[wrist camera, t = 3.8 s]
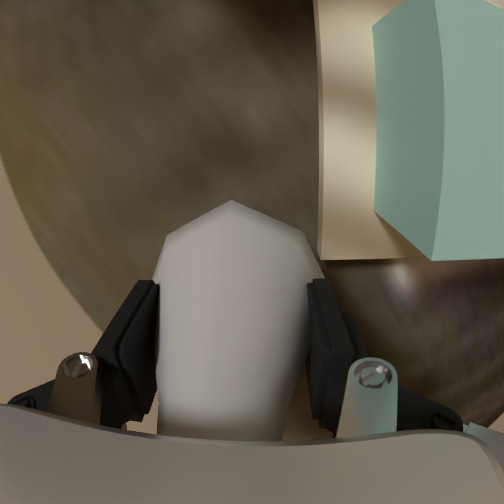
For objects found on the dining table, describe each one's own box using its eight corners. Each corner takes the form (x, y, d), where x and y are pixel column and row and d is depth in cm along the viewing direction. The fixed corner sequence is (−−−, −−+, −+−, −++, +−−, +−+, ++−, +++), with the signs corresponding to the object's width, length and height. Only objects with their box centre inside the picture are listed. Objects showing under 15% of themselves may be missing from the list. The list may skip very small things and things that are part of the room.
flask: (358, 285, 13) (450, 510, 4) (243, 375, 15) (229, 569, 6) (230, 163, 11) (104, 374, 2) (123, 288, 14) (8, 481, 4)
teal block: (371, 26, 11) (430, -20, 6) (510, 64, 11) (584, 60, 5) (373, 210, 14) (431, 260, 9) (505, 215, 14) (573, 254, 9)
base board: (311, -14, 11) (315, -23, 10) (519, 41, 11) (530, 39, 10) (316, 251, 17) (320, 260, 16) (511, 247, 16) (521, 254, 15)
